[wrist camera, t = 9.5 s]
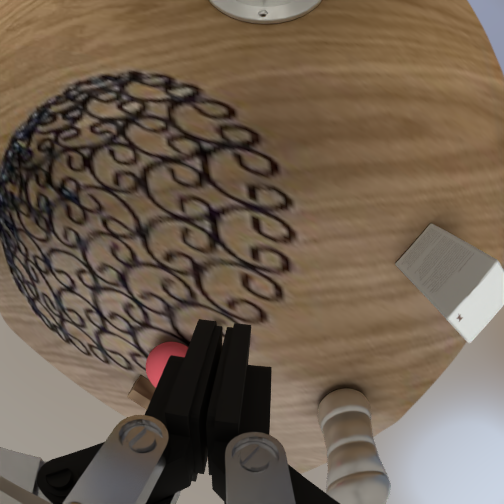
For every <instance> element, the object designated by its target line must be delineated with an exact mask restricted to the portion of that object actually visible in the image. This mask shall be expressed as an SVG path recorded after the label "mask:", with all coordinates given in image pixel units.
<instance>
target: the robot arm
mask: <svg viewBox="0 0 504 504" xmlns="http://www.w3.org/2000/svg"><path fill="white" fill-rule="evenodd" d="M209 1H210V2H211V4H212V5H213V6H214V7H216V8H217V9H218V10H219V11H221V12H222V13H224V14H226V15H228V16H230V17H232V18H235V19H238V20H241V21H245V22H250V23H260V24H272V23H281V22H286V21H290V20H293V19H296V18H299V17H301V16H303V15H305V14H307V13H308V12H310V11H312V10H313V9H314V8H315V7H316V6H317V5H319V4H320V2H321V1H322V0H209ZM262 15H265V16H266V17H261V16H262ZM250 335H251V325H246V324H236V323H234V327H233V328H231V327H227V330H226V334H225V338H224V343H223V347H222V326H217V323H216V321H209V320H200V319H199V321H198V323H197V326H196V328H195V331H194V333H193V336H192V339H191V341H190V344H189V347H188V349H187V352H186V355H185V357H180V356H173V355H171V356H170V357H169V359H168V361H167V363H166V365H165V368H164V370H163V373H162V375H161V377H160V380H159V382H158V384H157V387H156V389H155V391H154V394H153V396H152V399H151V401H150V403H149V406H148V408H147V411H146V413H145V415H134V416H130V417H127V418H126V419H124V420H122V421H121V422H120V423H119V424H118V425H117V426H116V427H115V428H114V430H113V431H112V433H111V434H110V435H109V437H108V439H107V440H106V441H105V442H103V443H101V444H98V445H95V446H92V447H89V448H86V449H83V450H80V451H77V452H74V453H71V454H68V455H65V456H62V457H59V458H56V459H52V460H50V461H48V462H46V461H43V460H42V459H41V458H40V457H35V456H31V455H27V454H23V453H19V452H15V451H12V450H8V449H5V448H1V447H0V504H176V502H177V500H178V498H179V496H180V491H181V490H183V489H185V488H187V487H189V486H190V485H191V481H196V479H197V474H198V473H200V474H204V472H205V467H206V462H207V457H208V467H209V475H212V486H213V490H214V491H215V492H216V493H217V494H218V495H219V496H220V497H221V498H222V500H223V501H224V504H340V503H339V502H337V501H336V500H335V499H333V498H332V497H330V496H329V495H328V494H326V493H325V492H323V491H322V490H321V489H319V488H318V487H317V486H315V485H314V484H312V483H311V482H310V481H308V480H307V479H306V478H305V477H303V476H302V475H301V474H300V473H298V472H297V471H296V470H295V469H293V468H292V467H291V466H290V465H288V463H287V457H286V452H285V450H284V448H283V445H282V444H281V443H280V442H279V441H278V440H277V439H275V438H274V437H272V436H271V435H269V428H270V401H271V367H264V366H253V365H248V358H249V347H250Z"/></svg>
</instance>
